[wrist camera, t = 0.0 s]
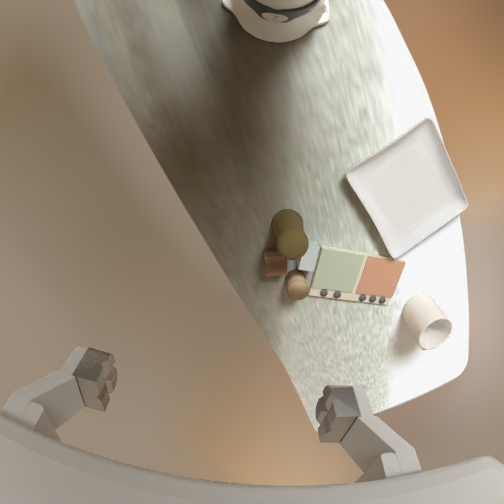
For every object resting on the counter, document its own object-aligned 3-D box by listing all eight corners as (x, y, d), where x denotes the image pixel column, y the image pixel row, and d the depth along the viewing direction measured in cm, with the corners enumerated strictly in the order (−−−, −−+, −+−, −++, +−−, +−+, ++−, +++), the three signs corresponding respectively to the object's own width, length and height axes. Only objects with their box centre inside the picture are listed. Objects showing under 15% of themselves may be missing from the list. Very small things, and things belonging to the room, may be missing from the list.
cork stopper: (287, 268, 63) (290, 280, 58) (307, 271, 63) (310, 283, 58) (283, 285, 64) (285, 298, 60) (302, 288, 65) (305, 301, 60)
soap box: (302, 239, 60) (304, 245, 58) (317, 241, 61) (319, 248, 58) (296, 262, 62) (298, 269, 60) (311, 264, 63) (313, 271, 60)
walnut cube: (263, 248, 61) (264, 257, 58) (284, 246, 61) (286, 255, 57) (265, 266, 63) (266, 276, 59) (285, 265, 63) (287, 274, 59)
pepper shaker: (287, 202, 57) (294, 222, 47) (309, 224, 59) (320, 247, 49) (264, 225, 59) (266, 249, 49) (287, 245, 61) (293, 272, 51)
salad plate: (338, 170, 55) (343, 173, 52) (422, 114, 49) (431, 115, 46) (387, 255, 62) (393, 262, 59) (461, 201, 56) (470, 206, 53)
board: (321, 245, 61) (322, 247, 60) (403, 259, 62) (405, 262, 61) (308, 293, 65) (308, 296, 64) (386, 302, 66) (388, 305, 65)
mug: (396, 334, 70) (411, 363, 60) (404, 294, 65) (423, 321, 56) (425, 329, 70) (442, 356, 60) (435, 290, 65) (456, 315, 55)
